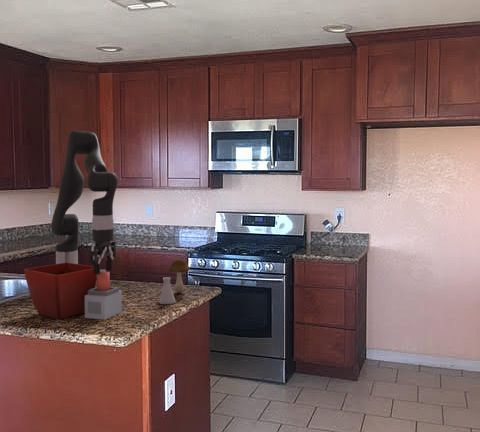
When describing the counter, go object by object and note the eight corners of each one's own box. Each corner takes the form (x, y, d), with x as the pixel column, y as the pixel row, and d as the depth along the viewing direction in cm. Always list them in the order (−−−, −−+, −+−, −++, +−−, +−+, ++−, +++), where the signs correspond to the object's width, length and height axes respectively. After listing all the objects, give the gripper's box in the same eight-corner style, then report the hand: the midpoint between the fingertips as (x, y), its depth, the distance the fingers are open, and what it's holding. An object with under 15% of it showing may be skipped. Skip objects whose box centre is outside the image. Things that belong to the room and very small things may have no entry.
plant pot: (57, 323, 196) (56, 274, 195) (23, 315, 207) (22, 268, 206) (100, 312, 212) (99, 267, 210) (67, 305, 223) (66, 262, 221)
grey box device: (84, 318, 203) (84, 291, 202) (102, 310, 215) (102, 285, 214) (104, 319, 201) (103, 293, 200) (121, 311, 213) (121, 286, 212)
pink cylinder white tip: (94, 293, 206) (93, 270, 205) (101, 291, 210) (100, 268, 209) (105, 294, 204) (105, 271, 204) (112, 292, 209) (111, 269, 208)
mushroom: (188, 289, 253) (188, 256, 252) (191, 295, 242) (191, 260, 241) (167, 290, 251) (167, 256, 250) (169, 295, 240) (169, 260, 239)
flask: (155, 301, 230) (155, 277, 229) (173, 300, 232) (173, 276, 232) (159, 305, 223) (159, 280, 222) (178, 304, 226) (177, 279, 225)
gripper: (104, 225, 213) (104, 268, 215) (82, 229, 200) (83, 275, 201) (122, 226, 211) (122, 269, 212) (101, 230, 198) (101, 276, 199)
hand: (103, 272), depth 207 cm, fingers open, 8 cm apart
